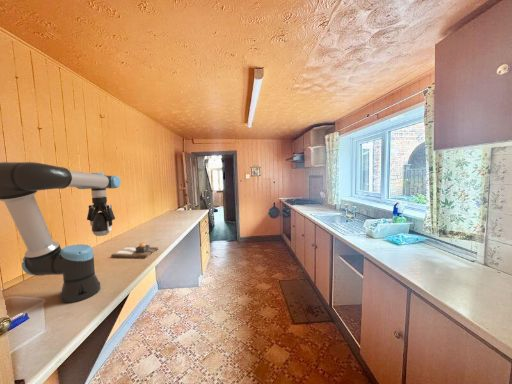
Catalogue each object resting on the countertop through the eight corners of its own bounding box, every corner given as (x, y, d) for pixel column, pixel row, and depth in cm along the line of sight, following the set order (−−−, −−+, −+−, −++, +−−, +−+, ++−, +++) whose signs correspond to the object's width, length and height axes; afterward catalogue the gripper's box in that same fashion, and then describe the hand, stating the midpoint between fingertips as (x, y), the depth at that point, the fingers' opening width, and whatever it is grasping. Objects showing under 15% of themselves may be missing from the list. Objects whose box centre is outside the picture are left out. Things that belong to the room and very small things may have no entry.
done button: (143, 248, 148) (143, 244, 148) (138, 248, 149) (138, 244, 148) (147, 246, 152) (146, 242, 152) (141, 246, 153) (141, 242, 152)
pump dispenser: (115, 232, 140) (114, 210, 139) (102, 237, 130) (101, 213, 129) (101, 232, 141) (100, 210, 140) (88, 237, 131) (86, 213, 130)
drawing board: (145, 258, 142) (145, 250, 142) (111, 257, 144) (110, 250, 144) (158, 249, 158) (158, 242, 158) (127, 249, 160) (127, 242, 160)
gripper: (120, 196, 136) (122, 229, 138) (88, 196, 138) (90, 229, 140) (111, 197, 129) (113, 232, 131) (77, 197, 131) (80, 232, 132)
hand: (101, 230), depth 135 cm, fingers closed on pump dispenser, 10 cm apart
